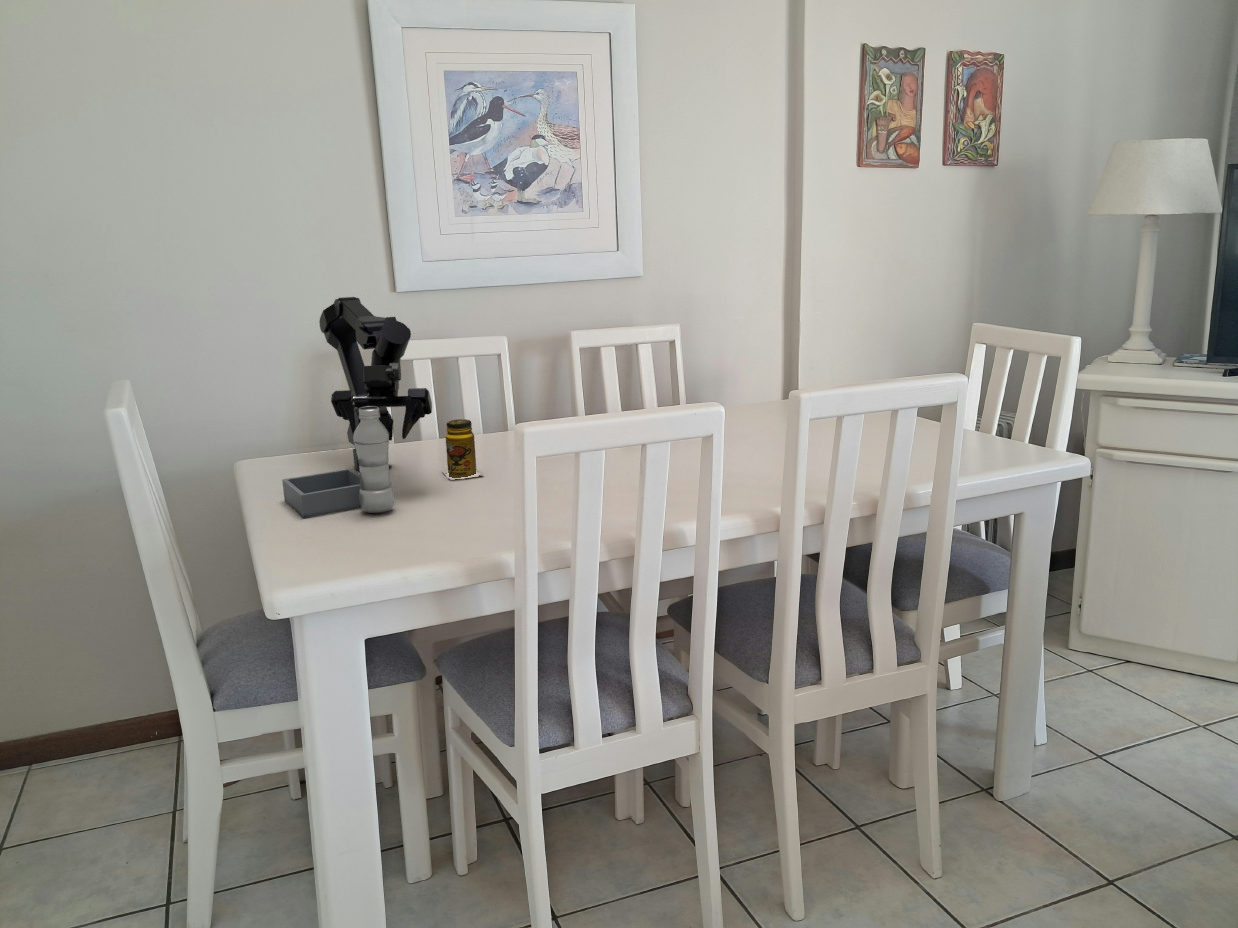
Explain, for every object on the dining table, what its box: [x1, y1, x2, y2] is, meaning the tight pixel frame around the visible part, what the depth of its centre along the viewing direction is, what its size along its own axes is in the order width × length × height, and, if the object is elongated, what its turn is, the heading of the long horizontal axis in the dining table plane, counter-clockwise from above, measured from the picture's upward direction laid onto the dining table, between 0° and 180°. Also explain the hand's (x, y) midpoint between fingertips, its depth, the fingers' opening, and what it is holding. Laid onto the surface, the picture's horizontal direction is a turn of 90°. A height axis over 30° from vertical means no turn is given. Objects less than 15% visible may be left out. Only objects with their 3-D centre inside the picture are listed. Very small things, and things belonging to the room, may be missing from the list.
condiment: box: [445, 418, 477, 478], centre depth 199 cm, size 7×8×12 cm
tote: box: [281, 468, 362, 519], centre depth 181 cm, size 14×14×4 cm
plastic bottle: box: [353, 406, 396, 514], centre depth 173 cm, size 6×7×20 cm
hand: (379, 438), depth 179 cm, fingers open, 9 cm apart
